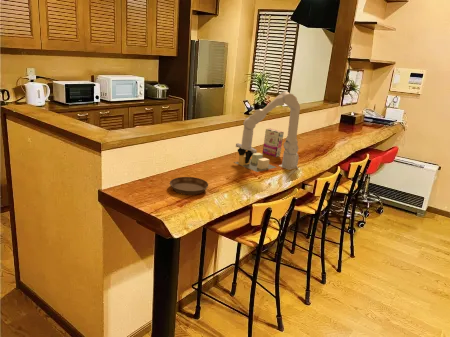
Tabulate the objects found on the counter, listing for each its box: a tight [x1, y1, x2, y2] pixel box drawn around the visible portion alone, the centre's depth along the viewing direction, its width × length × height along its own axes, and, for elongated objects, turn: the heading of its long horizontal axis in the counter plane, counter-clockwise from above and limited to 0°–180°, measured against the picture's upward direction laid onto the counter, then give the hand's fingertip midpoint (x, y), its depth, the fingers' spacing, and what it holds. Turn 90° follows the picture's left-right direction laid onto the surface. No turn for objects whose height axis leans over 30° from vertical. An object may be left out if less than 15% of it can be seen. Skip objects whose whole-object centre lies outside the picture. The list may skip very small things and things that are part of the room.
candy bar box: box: [262, 128, 284, 158], centre depth 239 cm, size 11×5×16 cm, turn 47°
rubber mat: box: [233, 158, 277, 173], centre depth 215 cm, size 18×18×1 cm
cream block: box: [257, 157, 270, 169], centre depth 211 cm, size 6×4×5 cm, turn 135°
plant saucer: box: [169, 176, 209, 196], centre depth 170 cm, size 18×18×3 cm
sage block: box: [250, 152, 264, 164], centre depth 220 cm, size 6×4×5 cm, turn 135°
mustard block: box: [237, 154, 250, 166], centre depth 214 cm, size 6×4×5 cm, turn 135°
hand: (244, 161), depth 214 cm, fingers closed on mustard block, 3 cm apart
